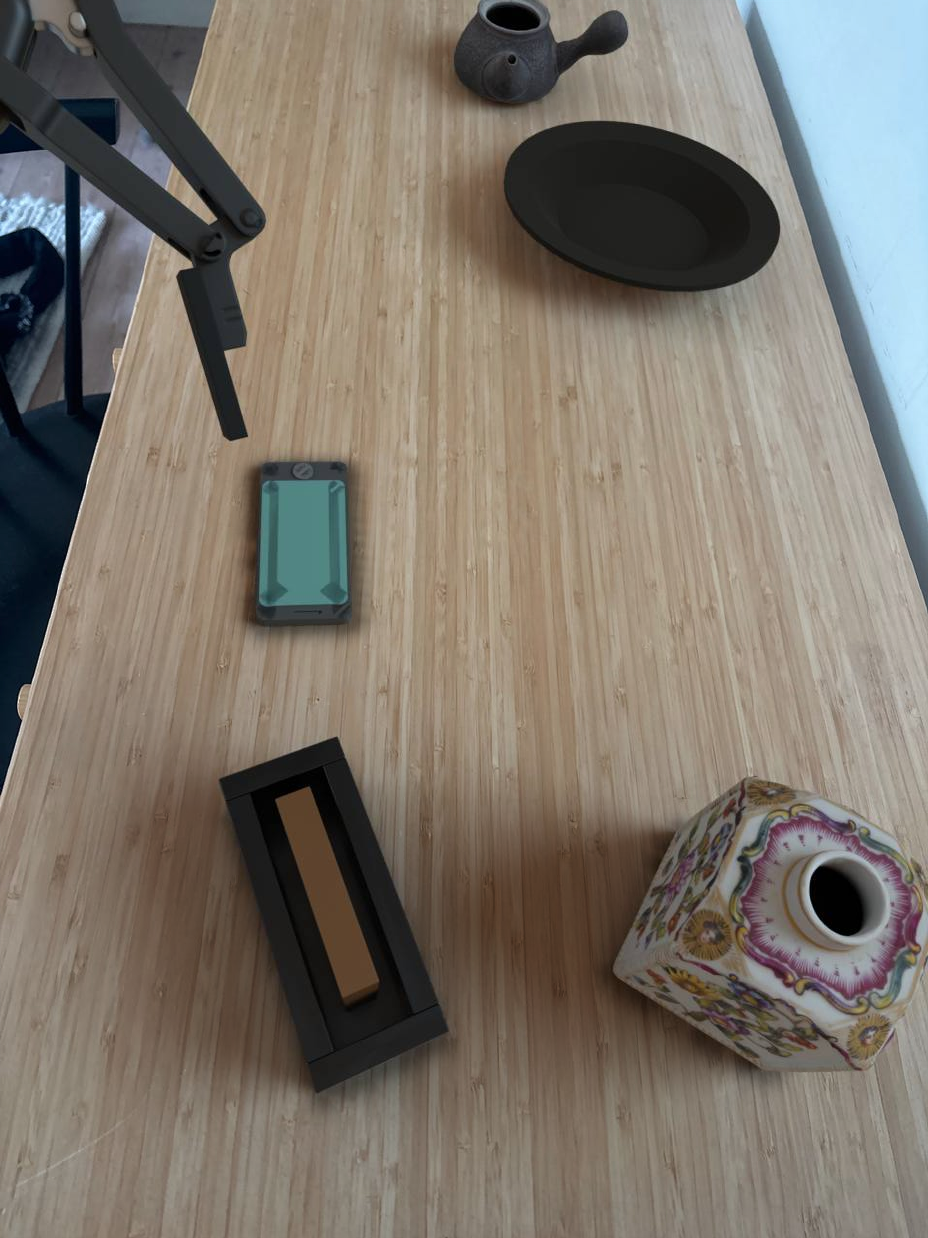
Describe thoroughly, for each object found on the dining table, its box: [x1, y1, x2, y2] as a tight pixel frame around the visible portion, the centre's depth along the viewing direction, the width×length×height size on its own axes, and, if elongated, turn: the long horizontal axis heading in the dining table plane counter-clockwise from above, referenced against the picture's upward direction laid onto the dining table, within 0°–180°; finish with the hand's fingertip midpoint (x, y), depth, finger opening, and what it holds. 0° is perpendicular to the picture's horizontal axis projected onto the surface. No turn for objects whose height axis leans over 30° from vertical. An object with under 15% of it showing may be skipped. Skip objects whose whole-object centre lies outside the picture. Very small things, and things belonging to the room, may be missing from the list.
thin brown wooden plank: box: [275, 787, 379, 1012], centre depth 51 cm, size 11×2×12 cm, turn 23°
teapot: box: [453, 0, 629, 104], centre depth 98 cm, size 19×15×10 cm
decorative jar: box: [612, 775, 928, 1073], centre depth 51 cm, size 12×12×18 cm
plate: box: [502, 120, 781, 293], centre depth 88 cm, size 28×24×6 cm
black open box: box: [218, 735, 450, 1095], centre depth 53 cm, size 18×8×9 cm, turn 23°
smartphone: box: [254, 461, 353, 627], centre depth 70 cm, size 7×1×15 cm
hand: (66, 479), depth 34 cm, fingers open, 13 cm apart
